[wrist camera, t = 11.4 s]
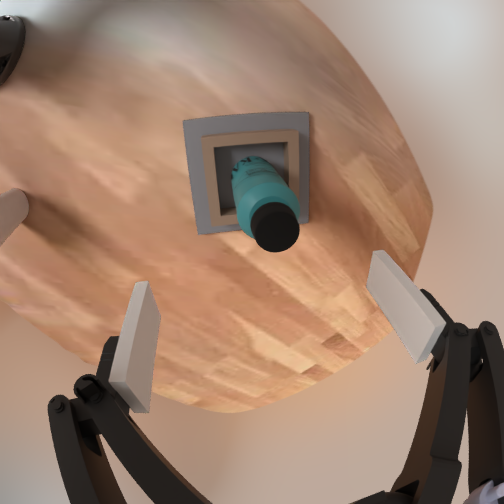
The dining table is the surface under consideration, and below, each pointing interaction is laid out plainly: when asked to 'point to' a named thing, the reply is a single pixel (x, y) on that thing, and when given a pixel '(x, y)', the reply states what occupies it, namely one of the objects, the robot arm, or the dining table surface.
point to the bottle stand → (236, 148)
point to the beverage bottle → (265, 204)
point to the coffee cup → (12, 212)
